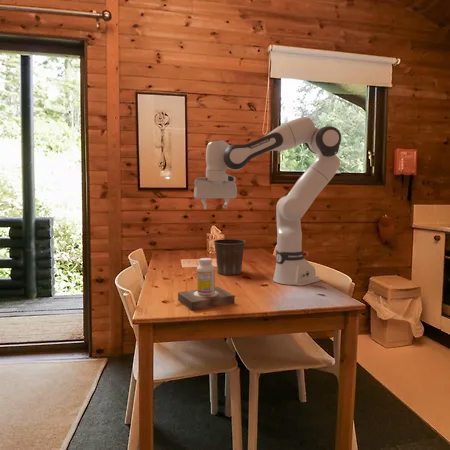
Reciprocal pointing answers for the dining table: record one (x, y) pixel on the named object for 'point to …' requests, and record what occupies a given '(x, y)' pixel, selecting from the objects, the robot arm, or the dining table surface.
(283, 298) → the dining table surface
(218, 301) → the walnut board
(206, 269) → the supplement bottle
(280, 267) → the robot arm
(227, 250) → the plant pot
